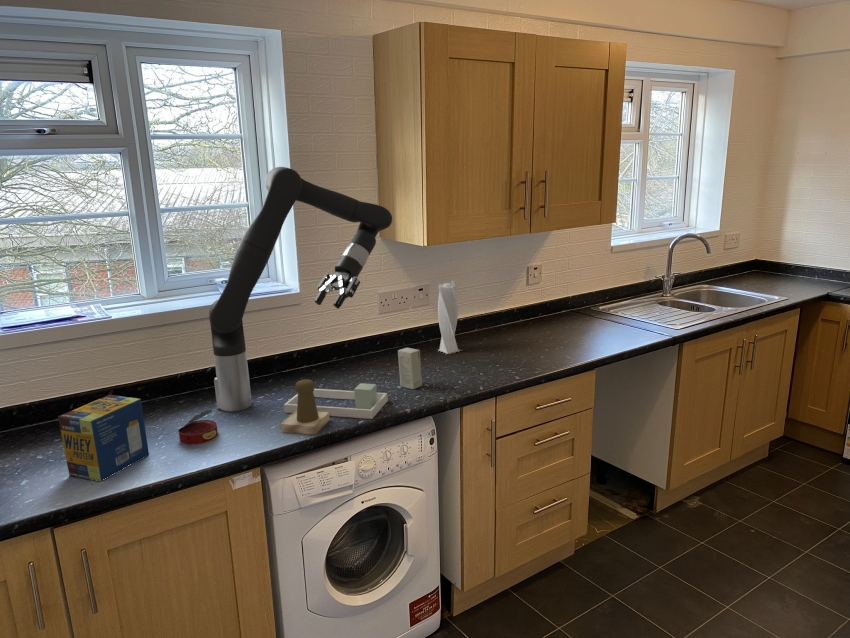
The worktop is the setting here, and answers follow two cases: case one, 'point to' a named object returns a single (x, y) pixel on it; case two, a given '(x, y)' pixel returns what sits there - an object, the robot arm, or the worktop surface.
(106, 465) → the protein box
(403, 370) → the skincare box
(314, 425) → the board
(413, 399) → the worktop surface
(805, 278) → the worktop surface
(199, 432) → the canned food
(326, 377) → the worktop surface
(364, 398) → the sage block
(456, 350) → the skyscraper
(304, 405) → the olive pawn
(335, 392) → the white rectangular frame
